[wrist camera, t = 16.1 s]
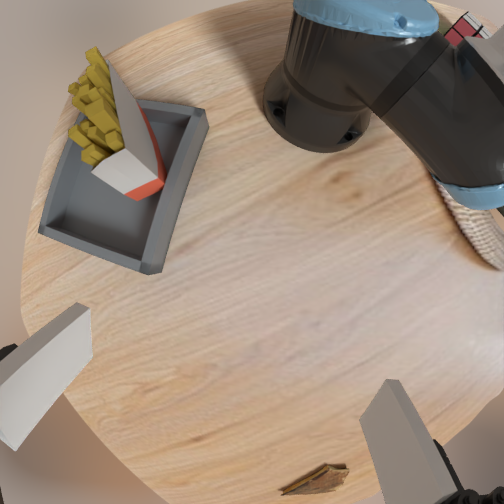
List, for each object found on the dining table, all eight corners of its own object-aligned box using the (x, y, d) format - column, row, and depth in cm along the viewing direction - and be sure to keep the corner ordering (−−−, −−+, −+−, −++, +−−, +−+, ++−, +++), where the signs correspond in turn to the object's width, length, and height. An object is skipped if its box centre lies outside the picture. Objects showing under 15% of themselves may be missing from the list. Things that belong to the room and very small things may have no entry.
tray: (102, 111, 33) (88, 96, 28) (209, 127, 34) (204, 109, 28) (58, 234, 33) (37, 232, 28) (161, 272, 33) (148, 275, 28)
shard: (279, 490, 34) (280, 496, 32) (288, 464, 34) (289, 471, 32) (336, 486, 34) (339, 492, 32) (349, 460, 34) (352, 466, 32)
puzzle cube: (471, 66, 36) (493, 48, 26) (442, 36, 35) (461, 15, 25) (477, 56, 36) (497, 39, 26) (451, 29, 36) (468, 10, 26)
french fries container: (141, 206, 32) (55, 163, 14) (122, 137, 32) (52, 67, 14) (174, 191, 32) (108, 130, 14) (151, 122, 32) (95, 39, 14)
